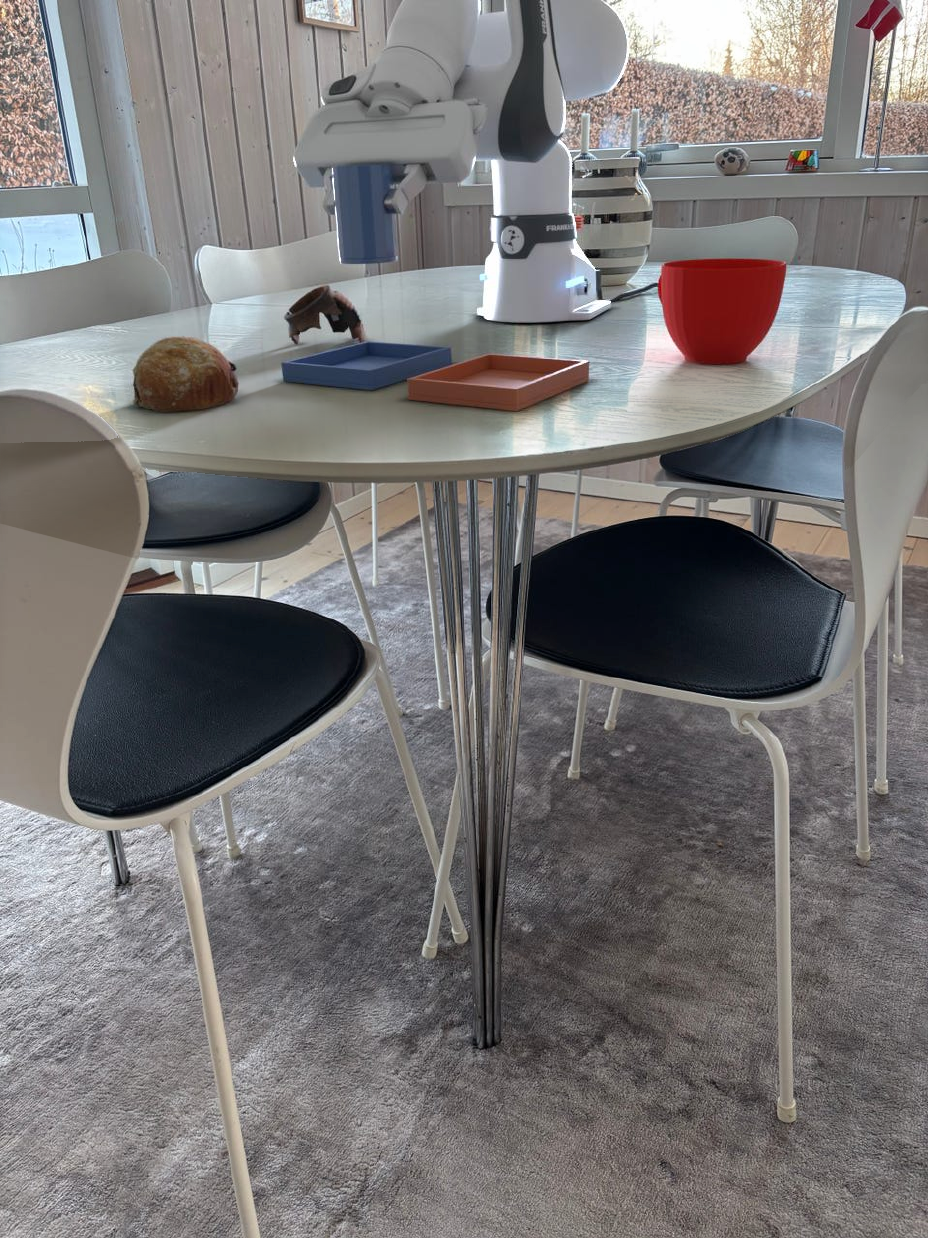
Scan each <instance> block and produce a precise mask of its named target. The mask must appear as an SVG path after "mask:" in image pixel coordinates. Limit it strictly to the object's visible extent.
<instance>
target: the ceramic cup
mask: <svg viewBox="0 0 928 1238" xmlns="http://www.w3.org/2000/svg"><path fill="white" fill-rule="evenodd" d="M660 271H661V272H660V276H659V278H658V281H657V282H658V287H657V294H658V298H659V301H660V304H661V307H662V315H663V319H664V323H665V326H666V329H667V333H668V335H669V336H670V339H671V341H672V342H673V344H674V345H675V346H676V348H677V350H678V351H679V352H680V353H681V354H682V355H683V357H684V359H685V360H686V361H688V362H691V363H697V364H705V365H706V364H707V365H727V364H728V365H729V364H739V363H742V362H745V361H747V358H748V357H749V356H750V355H751V354H752V353H753V352H754V351H755V350H756V349H757V348H758V347H759V346H760V345H761V344H762V342H763V341H764V339H765V338H766V336H767V335H768V333H769V332H770V330H771V328H772V326H773V324H774V322H775V320H776V317H777V314H778V311H779V308H780V304H781V301H782V297H783V291H784V286H785V281H786V274H787V263H786V262H785V261H781V260H775V259H763V258H699V259H683V260H674V261H668V262H663V263H662V264H661V269H660Z"/></svg>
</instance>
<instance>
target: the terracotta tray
mask: <svg viewBox="0 0 928 1238" xmlns="http://www.w3.org/2000/svg"><path fill="white" fill-rule="evenodd" d="M589 378H590V360H580V359H567V358H554V357H553V358H552V357H539V356H529V355H528V356H526V355H513V354H502V353H501V354H500V353H499V354H498V353H485V354H482V355H479V356H476V357H472V358H469V359H466V360H463V361H460V362H457V363H452V365H450V366H447V367H444V368H441V369H437V370H434V371H431V372H428V373H425V374H421V375H418V376H415V377H412V378H409V379H407V393H408V400H409V401H417V402H426V403H435V404H446V405H455V406H463V407H471V408H472V407H474V408H481V409H483V408H484V409H490V410H491V409H492V410H502V411H510V412H519V411H521V410H524V409H525V408H526V409H527V408H528V407H530V406H533V405H535V404H538V403H540V402H542V401H545V400H547V399H549V398H551V397H555V396H556V395H558V394H561V393H563V392H566V391H567V390H568V391H569V390H570V389H573V388H575V387H577V386H579V385H582V384H585V383H587V382H589Z"/></svg>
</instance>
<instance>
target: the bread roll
mask: <svg viewBox="0 0 928 1238" xmlns="http://www.w3.org/2000/svg"><path fill="white" fill-rule="evenodd" d="M236 371H237V367H236V365H235V364H234V363H232V362H231V361H230V360H228V359H227V358H226V356H225V355H224V354H223V353H222V352H221V351H220V350H219V349H218V348H217V347H215V346H214V345H212V344H210V343H207V342H206V341H203V340H201V339H199V338H195V337H192V336H188V337H187V336H184V335H181V336H165V337H162V338H160V339H158V340H156V341H155V342H153V343H152V344H151V345H149V346H148V347H147V348H146V349H145V350H144V351H143V352H142V353H141V355H139V357H138V359H137V361H136V363H135V366H134V368H133V369H132V374H133V382H132V383H133V384H132V387H133V391H134V395H133V398H134V399H133V401H132V404H133V405H134V406H138V407H141V408H144V409H148V410H153V411H155V412H160V413H178V412H179V413H181V412H182V413H183V412H192V411H199V410H205V409H209V408H213V407H218V406H221V405H224V404H227V403H229V402H232V401H233V400H234V399H235V398H236V395H237V394H238V392H239V385H240V384H239V380H238V376H237V374H236V373H235V372H236Z"/></svg>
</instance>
